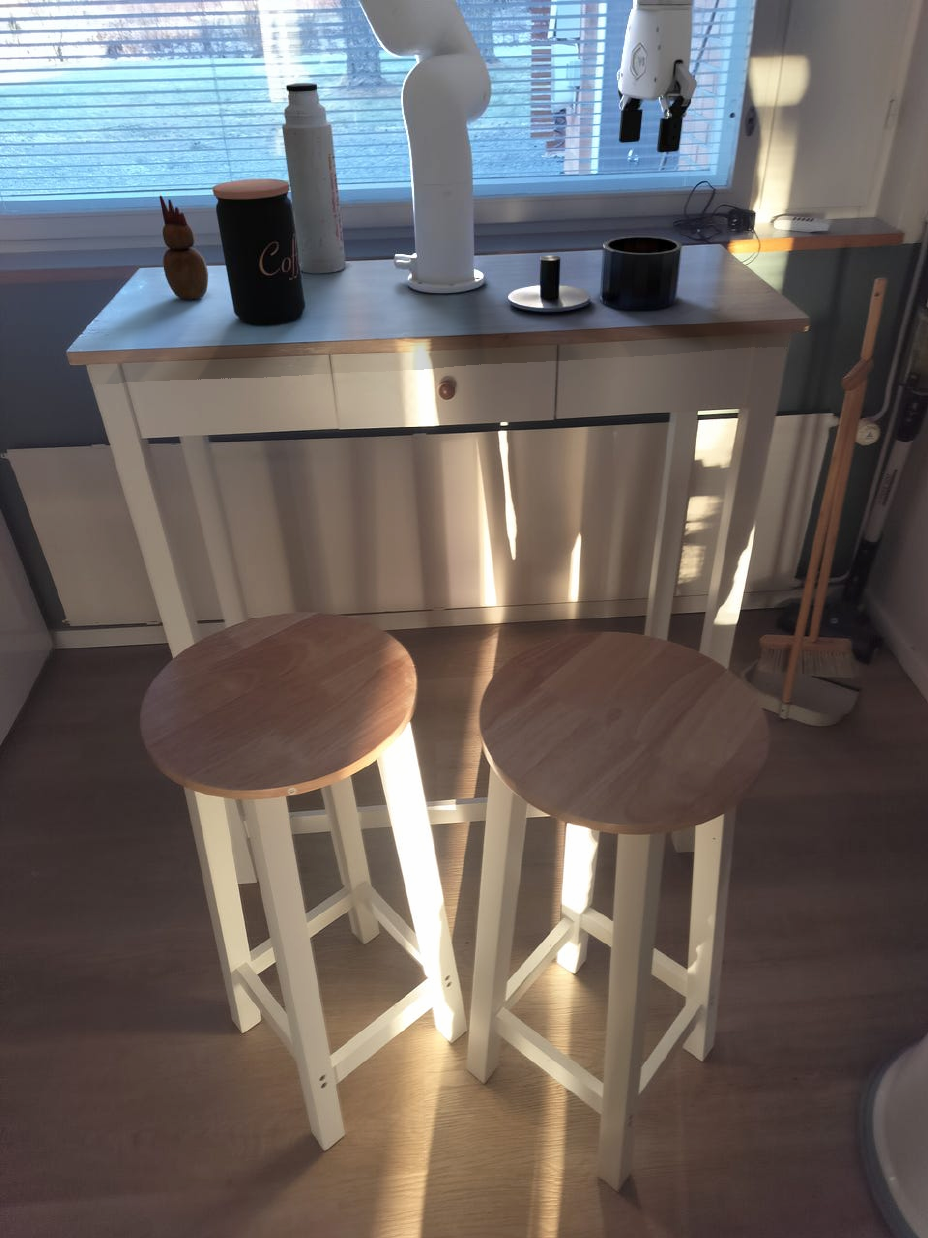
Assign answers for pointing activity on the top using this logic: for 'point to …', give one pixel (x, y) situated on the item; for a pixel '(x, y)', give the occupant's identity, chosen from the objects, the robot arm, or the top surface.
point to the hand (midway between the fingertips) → (647, 146)
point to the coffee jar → (260, 250)
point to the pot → (640, 273)
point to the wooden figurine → (182, 256)
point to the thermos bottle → (313, 181)
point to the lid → (549, 291)
